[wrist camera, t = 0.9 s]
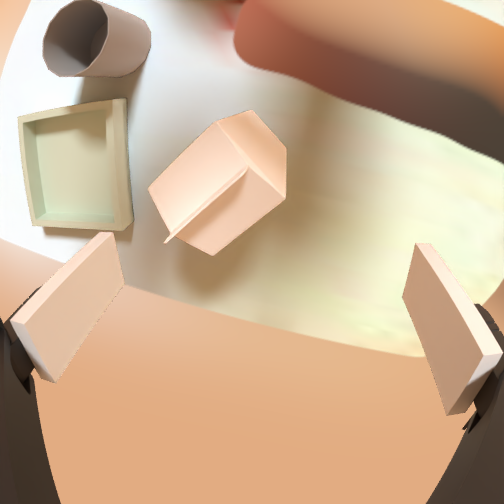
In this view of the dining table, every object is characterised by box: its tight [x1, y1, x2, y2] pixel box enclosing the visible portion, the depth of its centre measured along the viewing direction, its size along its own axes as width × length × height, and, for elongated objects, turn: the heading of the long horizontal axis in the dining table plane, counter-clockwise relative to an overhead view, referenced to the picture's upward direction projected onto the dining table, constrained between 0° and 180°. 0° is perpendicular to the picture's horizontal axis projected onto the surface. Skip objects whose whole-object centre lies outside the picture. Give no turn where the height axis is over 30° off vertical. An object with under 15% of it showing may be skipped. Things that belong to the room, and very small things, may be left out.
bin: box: [18, 98, 134, 231], centre depth 36 cm, size 16×16×4 cm
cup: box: [43, 0, 151, 77], centre depth 26 cm, size 8×8×10 cm
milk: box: [148, 110, 287, 256], centre depth 26 cm, size 6×6×22 cm
